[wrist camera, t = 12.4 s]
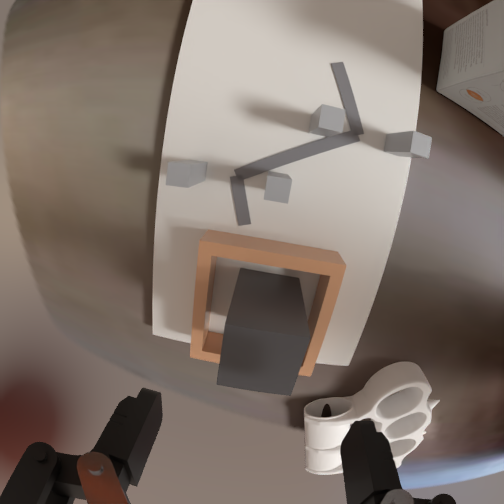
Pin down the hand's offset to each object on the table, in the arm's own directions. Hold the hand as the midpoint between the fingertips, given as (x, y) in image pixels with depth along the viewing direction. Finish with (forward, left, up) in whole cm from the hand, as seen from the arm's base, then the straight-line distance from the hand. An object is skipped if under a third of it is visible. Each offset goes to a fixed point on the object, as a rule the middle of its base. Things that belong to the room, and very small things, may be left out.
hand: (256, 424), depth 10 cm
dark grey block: (0, 0, -11) cm, 11 cm away
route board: (0, -10, -12) cm, 16 cm away
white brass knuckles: (-14, +14, -12) cm, 24 cm away
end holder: (0, 0, -12) cm, 12 cm away
